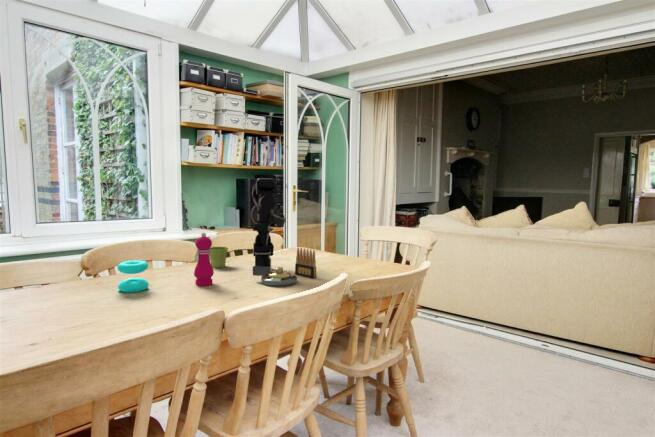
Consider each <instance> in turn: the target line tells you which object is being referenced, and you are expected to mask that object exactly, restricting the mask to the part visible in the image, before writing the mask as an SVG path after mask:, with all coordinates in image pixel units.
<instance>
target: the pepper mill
mask: <svg viewBox="0 0 655 437" xmlns="http://www.w3.org/2000/svg"><path fill="white" fill-rule="evenodd" d="M195 247H196V251H197V252H196V253H197V255H198V256H197V258H198V259H197V262H196V266H195V267H194V271H193V272H194V273H193V275H194V277H195V278H196V279H195V285H196V286H198V287H208V286H212V284H213V276H214V273H215V272H214V268H213V267H212V265H211V260H210V254H209V253H211V252H210V247H213V243H212V239H211V238H210V237H207V234H206V233H205V232H202V233H201V234H200V236H199V237H198V238H197V239H196V240H195Z"/></svg>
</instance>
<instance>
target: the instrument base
mask: <svg viewBox="0 0 655 437" xmlns="http://www.w3.org/2000/svg"><path fill="white" fill-rule="evenodd" d="M260 277H261V281H260V282H261V284H262V285H264V286H265V287H271V288H272V287H273V288H285V287H286V288H287V287H292V286H295V285H296V284H297V282H298V280H297V279H298V277H297V275H295V274H291V277H290V278H288V279H281V278H272V279H270V278H268V276H260Z"/></svg>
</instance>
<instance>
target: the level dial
mask: <svg viewBox="0 0 655 437" xmlns="http://www.w3.org/2000/svg"><path fill="white" fill-rule="evenodd" d="M274 269H275V270H272V266H271V267H267V266H255V265H253V266H252V276H255V277H256V276H258V277H259V276H260V277H262V276H268V278H270V279H272V278H281V279H288V278H290V277H291V271H288V270H284V267H281V266H277V267H275V268H274Z"/></svg>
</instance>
